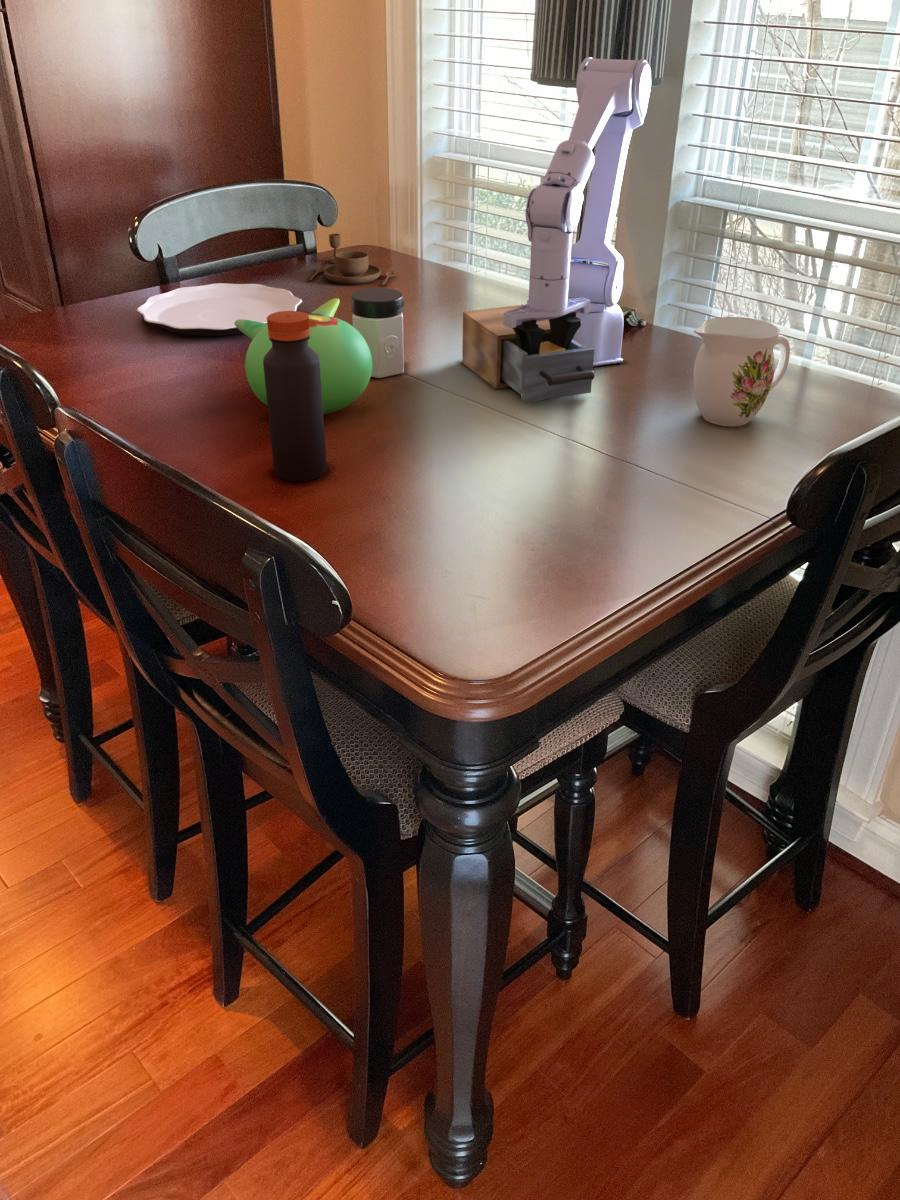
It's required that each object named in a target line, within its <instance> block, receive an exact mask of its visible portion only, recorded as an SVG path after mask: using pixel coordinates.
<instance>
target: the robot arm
mask: <svg viewBox="0 0 900 1200" xmlns="http://www.w3.org/2000/svg"><path fill="white" fill-rule="evenodd" d="M575 86H576V87H575V89H576V95H577V103H578V104H577V105H578V108H577V112H576V115H575V117H574V120H573V125H572V128H571V130H570V133H569V137H568V140H564V141H562V142H560V143H559V144H558V145H557V147H556V149H555V152H554V153H553V157H552V158H551V161H550V163H549V165H548V167H547V170H546V172H545V175H544V177H543V179H542V182H541V184H539V185H538V186H536V187H535V188H532V189H531V191H530V192H529V194H528V197H527V200H526V205H525V213H524V215H525V222H526V225H527V238H528V242H530V260H529V262H530V263H529V283H528V284H529V285H528V299H527V301H526V303H524V304H522V305H523V306H520V307H518V308H515V309H513V310H510V311H505V312H504V316H503V325H505V326H507V327H509V328H513V330H514V332H515V334H516V336H517V338H518V341H519V343H520V346H521V349H522V350H523V351H525V352H526V353H528V355H535V354H539V349H540V345H541V341H542V337H543V335H544V332H545V330H544V329H542V328H539V327H538V324H536V322H537V321H542V320H547V319H549V323H550V330H551V343H553V344H555V345H557V346H560V347H562V348H564V349H566V350H568V348H569V345H570V343H571V341H572V340H574V341H576V342H577V343H579V344H581V345H582V346H583V348H587V347H592V348H593V349H594V361H593V367H596V366H604V365H610V364H618V363H623V362H624V361H623V360H624V359H623V358H622V357H621V355H622V347H623V346H622V345H623V337H624V336H623V335H624V326H625V325H624V323H625V320H624V313H623V310H622V309H621V307H620V306H619V304H617V303H618V302H619V300H620V297H621V294H622V291H623V286H624V268H625V262H624V261H625V260H624V258H623V256H622V255H621V253H619V252H618V251H617V249H616V248H615V247H614V246H613V245H612V243H611V242H612V236H613V231H614V225H615V221H616V215H617V210H618V204H619V199H620V195H621V194H620V193H621V187H622V184H623V177H624V172H625V167H626V161H627V156H628V150H629V145H630V142H631V138H632V134H633V130H635V129H637V128H638V127H641V126H642V125H643V124H644V120H645V117H646V114H647V111H648V105H649V99H650V95H651V94H650V93H651V87H652V69H651V66H650V65H649V62H648V61H647V60H646V59H645V58H641V59H638V60H637V59H614V58H612V59H611V58H594V57H591V56H588V57H585V58H584V59H583V61H582V62H581V63H580V65H579V68H578V71H577V74H576V83H575ZM595 146H596V148H595V153H594V152H593V149H594V147H595ZM590 175H591V176H590ZM589 177H590V180H589V181H590V182H589V187H588V192H587V197H586V202H585V208H584V215H583V220H582V225H581V226H582V227H581V231H580V235H579V236H580V237H579V240H577V241H576V242H575V243H572V242H573V232H574V231H575V230H576V228H577V226H578V224H579V222H580V217H581V212H582V207H583V202H584V189H585V186H586V185H587V182H588V179H589ZM582 261H583V262H582ZM584 261H585V262H584ZM588 262H592V263H588ZM593 262H594V263H593ZM596 263H600V264H596ZM604 264H607V265H604Z"/></svg>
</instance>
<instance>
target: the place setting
mask: <svg viewBox="0 0 900 1200" xmlns="http://www.w3.org/2000/svg"><path fill="white" fill-rule="evenodd" d="M328 241H329V242H328V243H329V246H330V247H331V248H332V250H333V254H332V255H333V259H331V260H330V261H329V263H330V264H331V265H330V266H327V267H325V266H322V265H319V266H318V268H317V269H316V270H315V273H314V274H313V275H312V276H311V277H310V278H309V279H308V281H312V280H313V279H314V278H315V277H316V276H317V275H318V274H320V273H323V275H324V277H325V278H326V279H327V280H328V281H330V282H332V283H334V284H340V285H363V284H369V283H371V282H374V281H375V280H377V279H378V278H380V276H381V273H382V269H381V267H380V266H377V265H375V264H370V262H369V261H370V260H369V259H370V258H369V253H367V252H365V251H360V250H345V251H340V252H338V249H339V248H340V246H341V234H340V233H330V234H328ZM384 275H385V279H384V280H383V281H382V283H381V284H382V286H383V285H385V284H386V283H387V281H388V279H389V278H392V277H393V276H394V275H395V271H394V270H389V271H387V272H385V274H384Z"/></svg>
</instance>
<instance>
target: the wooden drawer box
mask: <svg viewBox="0 0 900 1200" xmlns="http://www.w3.org/2000/svg"><path fill="white" fill-rule="evenodd" d="M523 305H524V304H517V305H509V306H499V307H490V308H483V309H474V310H466V311H462V352H461V353H462V359H461V361H462V363H463V364H464V365H465V366H466V367H468V368H469V369H470V370H471V371H473V373H475V374H476V375H478V376H479V377H480V378H482V379H483V380H484V381H485V382H487V383H488V385H490V386H491V387H493V388H494V389H496V390H498V389H505V388H511V387H510V386H509V385H508V384H506V383H505V382H504V381H502V380H501V379H500V369H501V340H502V339H509V338H517V336H516V334H515V332H514V330H513V328H509V327H507V326H505V325H503V316H504V312H505V311H510V310H513V309H515V308H518V307H520V306H523ZM536 324H538V327H539V328H542V329H544V330H545V332H544V334H549V333H551V330H550V323H549V319H547V320H542V321H537V322H536Z"/></svg>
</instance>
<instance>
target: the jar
mask: <svg viewBox="0 0 900 1200" xmlns="http://www.w3.org/2000/svg"><path fill="white" fill-rule="evenodd" d="M350 305H351V313H352V315H351V316H352V317H351V318H352V326H353V327H354V328H355V329H356V330H357V331H358V332H359V333H360V334H361V335H362V336H363V338H364V339H365V341H366V343H367V345H368V347H369V350H370V353H371V357H372V373H371V377H370V378H374V379H383V378H386V377H387V378H388V377H392V376H399V375H402V374H404V373H405V356H404V355H405V353H404V350H405V349H404V315H403V313H404V305H405V303H404V295H403V293H402V292H401V291H399V290H397V289H393V288H387V287H369V288H363V289H359V290H356V291H353V292H352V294H351V295H350Z"/></svg>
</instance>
